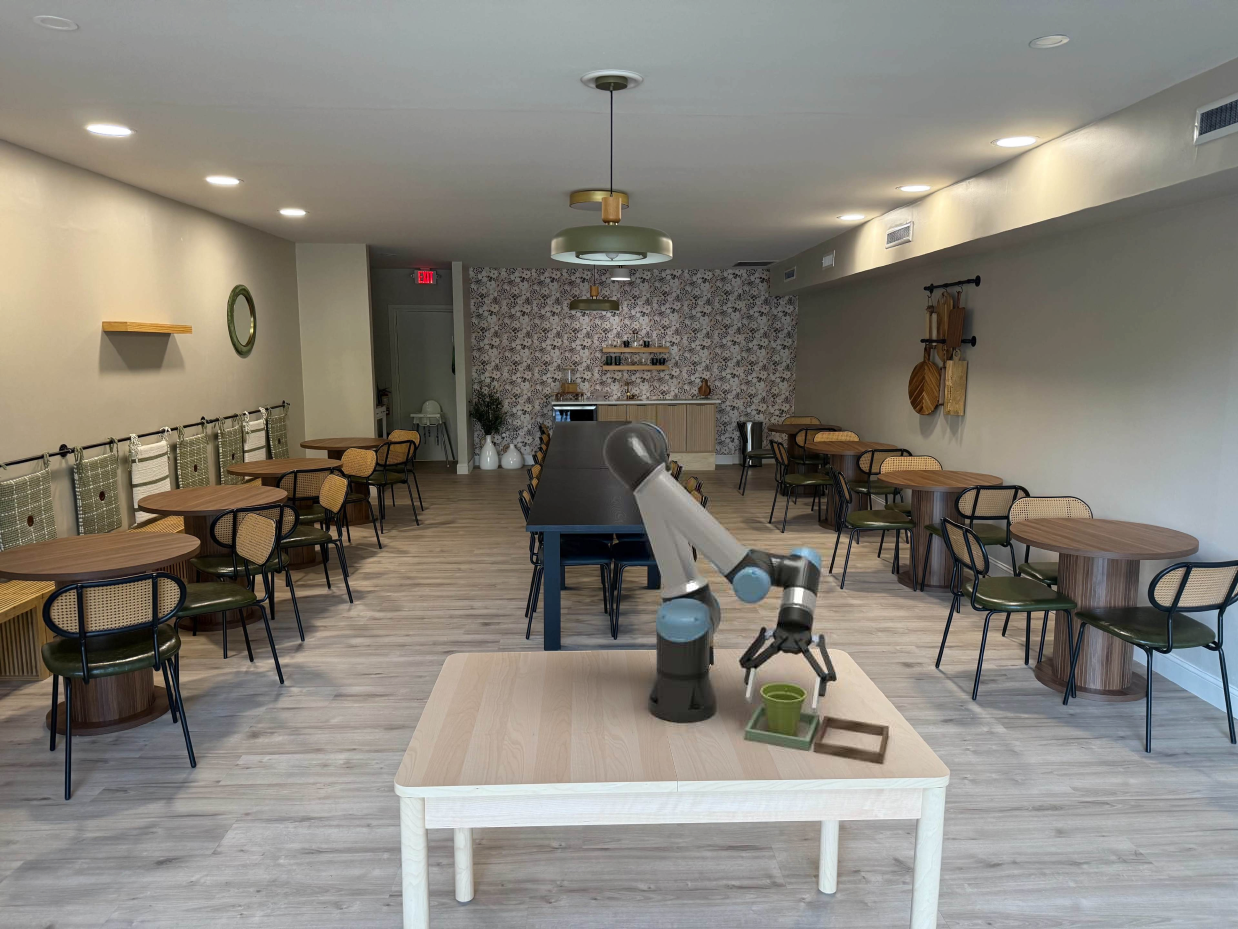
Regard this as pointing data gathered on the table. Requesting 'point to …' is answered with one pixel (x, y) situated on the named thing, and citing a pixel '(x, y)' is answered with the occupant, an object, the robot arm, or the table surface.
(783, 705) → the plant pot
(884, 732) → the walnut collar
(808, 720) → the sage green collar
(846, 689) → the table surface
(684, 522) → the robot arm
